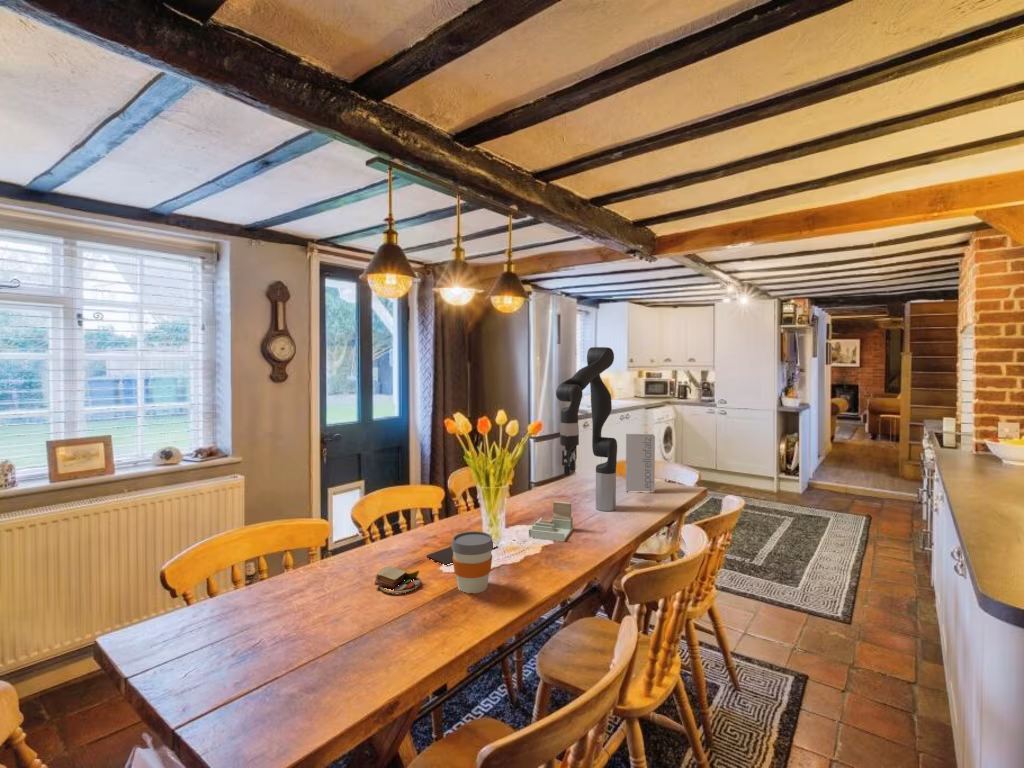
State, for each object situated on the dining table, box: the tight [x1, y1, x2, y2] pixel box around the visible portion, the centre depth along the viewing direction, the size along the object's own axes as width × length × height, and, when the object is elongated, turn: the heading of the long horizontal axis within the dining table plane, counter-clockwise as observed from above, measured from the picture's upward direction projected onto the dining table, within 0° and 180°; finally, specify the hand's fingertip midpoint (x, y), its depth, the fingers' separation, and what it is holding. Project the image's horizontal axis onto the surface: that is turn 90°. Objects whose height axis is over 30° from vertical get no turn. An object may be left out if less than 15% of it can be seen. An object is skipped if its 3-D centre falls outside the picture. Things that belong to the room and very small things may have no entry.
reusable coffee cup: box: [451, 530, 494, 594], centre depth 150 cm, size 13×13×15 cm
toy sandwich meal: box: [374, 565, 422, 594], centre depth 152 cm, size 12×14×5 cm
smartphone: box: [425, 545, 453, 565], centre depth 179 cm, size 12×2×25 cm
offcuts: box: [538, 519, 552, 524], centre depth 199 cm, size 5×6×3 cm
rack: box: [528, 517, 574, 543], centre depth 198 cm, size 16×14×4 cm
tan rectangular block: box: [552, 500, 572, 520], centre depth 202 cm, size 2×7×10 cm, turn 68°
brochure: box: [625, 433, 656, 491], centre depth 260 cm, size 14×6×30 cm, turn 81°
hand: (569, 472), depth 202 cm, fingers open, 8 cm apart
